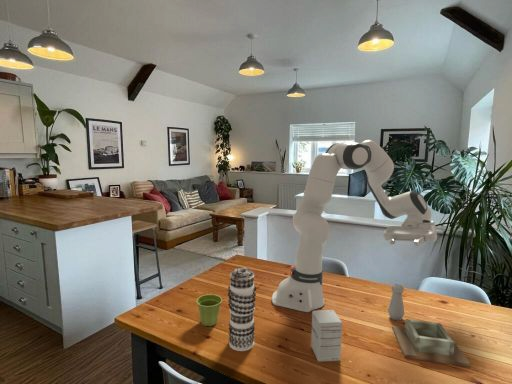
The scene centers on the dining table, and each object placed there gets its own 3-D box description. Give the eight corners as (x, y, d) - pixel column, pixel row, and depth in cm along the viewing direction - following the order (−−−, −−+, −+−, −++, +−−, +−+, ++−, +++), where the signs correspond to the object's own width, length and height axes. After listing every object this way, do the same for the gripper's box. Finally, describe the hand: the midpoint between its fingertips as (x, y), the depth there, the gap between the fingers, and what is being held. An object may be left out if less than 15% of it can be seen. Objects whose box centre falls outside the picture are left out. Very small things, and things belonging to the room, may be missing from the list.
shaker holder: (404, 357, 89) (405, 340, 89) (392, 328, 105) (393, 313, 104) (470, 367, 85) (472, 349, 85) (447, 335, 101) (448, 320, 100)
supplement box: (310, 346, 94) (311, 309, 92) (332, 345, 94) (334, 309, 93) (317, 362, 87) (318, 322, 85) (341, 361, 87) (342, 321, 86)
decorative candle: (237, 331, 102) (238, 263, 99) (260, 339, 97) (261, 268, 94) (222, 345, 94) (221, 271, 91) (246, 355, 89) (246, 278, 86)
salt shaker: (405, 322, 108) (408, 289, 107) (389, 320, 110) (391, 288, 108) (401, 314, 114) (403, 283, 113) (385, 313, 115) (387, 281, 114)
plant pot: (212, 312, 114) (212, 291, 113) (227, 322, 107) (227, 300, 106) (191, 321, 107) (191, 299, 107) (206, 332, 101) (206, 309, 100)
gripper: (387, 221, 132) (376, 235, 123) (438, 221, 118) (430, 237, 109) (390, 233, 134) (379, 248, 125) (441, 234, 119) (433, 252, 110)
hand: (403, 243), depth 117 cm, fingers open, 8 cm apart
